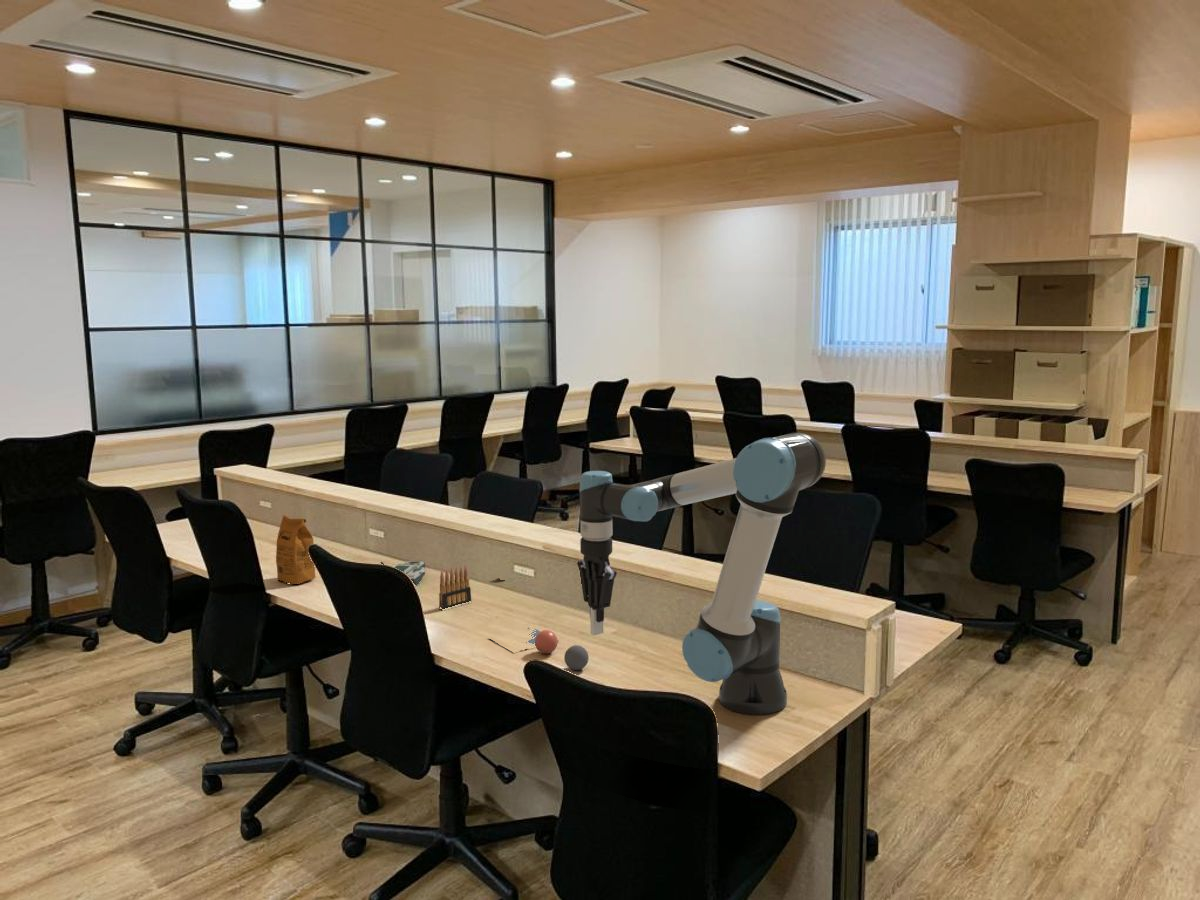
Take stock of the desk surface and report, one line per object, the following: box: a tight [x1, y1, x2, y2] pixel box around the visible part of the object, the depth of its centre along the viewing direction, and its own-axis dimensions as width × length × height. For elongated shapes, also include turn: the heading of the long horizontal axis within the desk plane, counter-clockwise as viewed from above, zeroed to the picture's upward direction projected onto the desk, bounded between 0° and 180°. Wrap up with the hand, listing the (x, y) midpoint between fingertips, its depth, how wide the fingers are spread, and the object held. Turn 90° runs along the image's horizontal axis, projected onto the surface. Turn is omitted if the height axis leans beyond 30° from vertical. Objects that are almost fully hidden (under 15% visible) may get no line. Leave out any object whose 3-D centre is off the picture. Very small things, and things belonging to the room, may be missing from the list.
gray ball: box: [564, 644, 589, 671], centre depth 227 cm, size 6×6×6 cm
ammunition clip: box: [438, 564, 472, 609], centre depth 277 cm, size 11×2×12 cm, turn 135°
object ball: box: [535, 629, 559, 655], centre depth 238 cm, size 6×6×6 cm
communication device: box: [380, 560, 426, 587], centre depth 308 cm, size 12×24×9 cm, turn 175°
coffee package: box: [275, 514, 316, 585], centre depth 306 cm, size 10×12×22 cm
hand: (597, 633), depth 218 cm, fingers closed
